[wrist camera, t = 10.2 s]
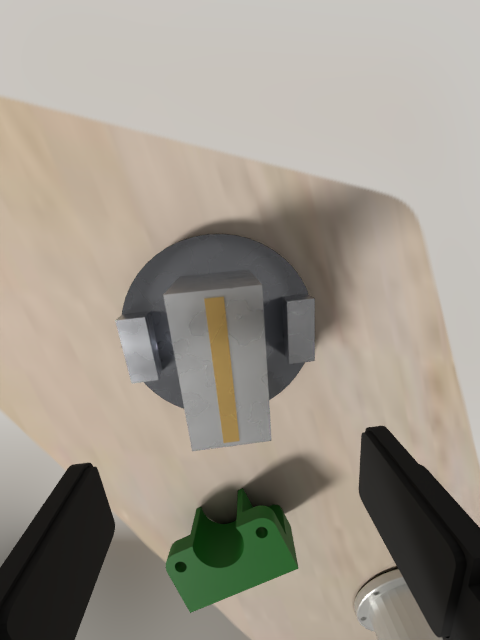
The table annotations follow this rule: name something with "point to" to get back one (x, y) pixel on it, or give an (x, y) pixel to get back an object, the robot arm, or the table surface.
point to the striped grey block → (221, 357)
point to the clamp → (231, 554)
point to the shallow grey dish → (202, 258)
